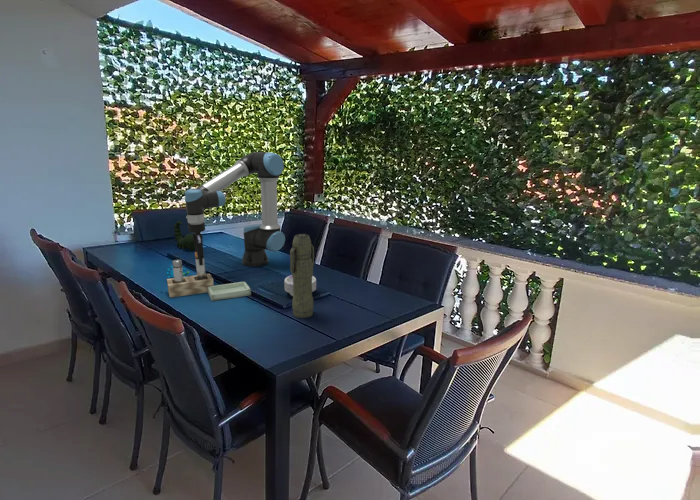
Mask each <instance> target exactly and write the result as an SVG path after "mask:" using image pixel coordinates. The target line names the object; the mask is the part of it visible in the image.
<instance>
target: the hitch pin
mask: <svg viewBox="0 0 700 500" xmlns="http://www.w3.org/2000/svg"><path fill="white" fill-rule="evenodd" d="M203 254H205V253H204V251H203ZM194 256H195V269H196V275H197V280H204V279H206V274H207V273H206V265H205V264H206V263H205V261H204V270H205V271H201V272H199V271H198V261H197V259H196V258H197V257H198V256H197V252H195V251H194ZM203 259H204V260H205V257H204V258H203Z"/></svg>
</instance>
